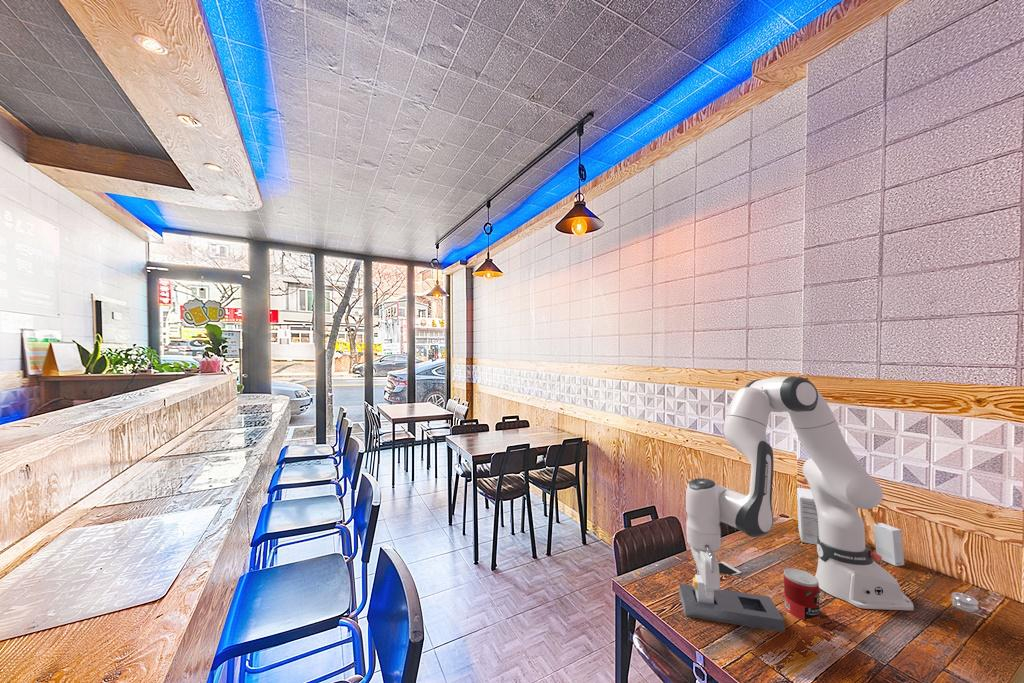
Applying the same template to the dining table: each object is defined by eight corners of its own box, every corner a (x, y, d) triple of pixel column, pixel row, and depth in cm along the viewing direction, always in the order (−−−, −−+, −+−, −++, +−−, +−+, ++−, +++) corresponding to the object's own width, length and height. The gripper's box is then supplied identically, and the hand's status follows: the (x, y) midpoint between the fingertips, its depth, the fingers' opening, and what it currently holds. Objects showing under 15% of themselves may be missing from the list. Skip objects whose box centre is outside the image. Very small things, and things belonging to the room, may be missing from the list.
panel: (769, 610, 107) (769, 595, 108) (785, 635, 98) (784, 619, 98) (679, 597, 114) (679, 582, 114) (685, 619, 104) (685, 604, 104)
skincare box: (905, 565, 130) (903, 529, 130) (895, 566, 129) (893, 531, 129) (884, 556, 136) (882, 522, 136) (874, 557, 135) (873, 523, 135)
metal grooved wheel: (947, 603, 110) (972, 614, 105) (946, 592, 110) (971, 603, 106) (958, 600, 112) (983, 611, 107) (957, 590, 112) (982, 600, 107)
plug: (710, 604, 109) (710, 576, 109) (714, 613, 105) (713, 584, 105) (692, 601, 110) (692, 573, 110) (695, 610, 106) (694, 581, 106)
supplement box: (845, 551, 139) (843, 504, 140) (801, 542, 146) (799, 497, 147) (838, 537, 150) (837, 492, 151) (797, 528, 157) (796, 486, 158)
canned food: (811, 629, 100) (810, 587, 100) (779, 611, 107) (777, 572, 107) (826, 620, 103) (824, 579, 104) (793, 603, 111) (792, 565, 111)
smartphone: (689, 572, 127) (689, 569, 127) (723, 563, 132) (723, 561, 132) (707, 584, 120) (707, 581, 120) (742, 574, 126) (741, 571, 126)
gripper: (725, 558, 97) (727, 612, 97) (707, 523, 117) (708, 568, 116) (699, 554, 99) (701, 608, 98) (685, 521, 119) (686, 566, 118)
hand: (704, 586), depth 108 cm, fingers open, 8 cm apart
